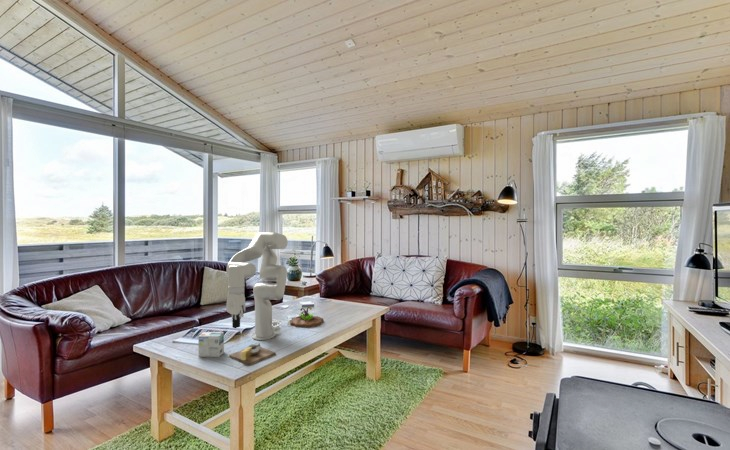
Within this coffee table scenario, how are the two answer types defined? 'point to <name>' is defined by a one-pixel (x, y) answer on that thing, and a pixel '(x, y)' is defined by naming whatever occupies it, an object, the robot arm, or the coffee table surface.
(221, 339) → the light bulb box
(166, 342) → the coffee table surface
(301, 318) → the plant
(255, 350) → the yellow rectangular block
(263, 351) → the wooden cheese board
